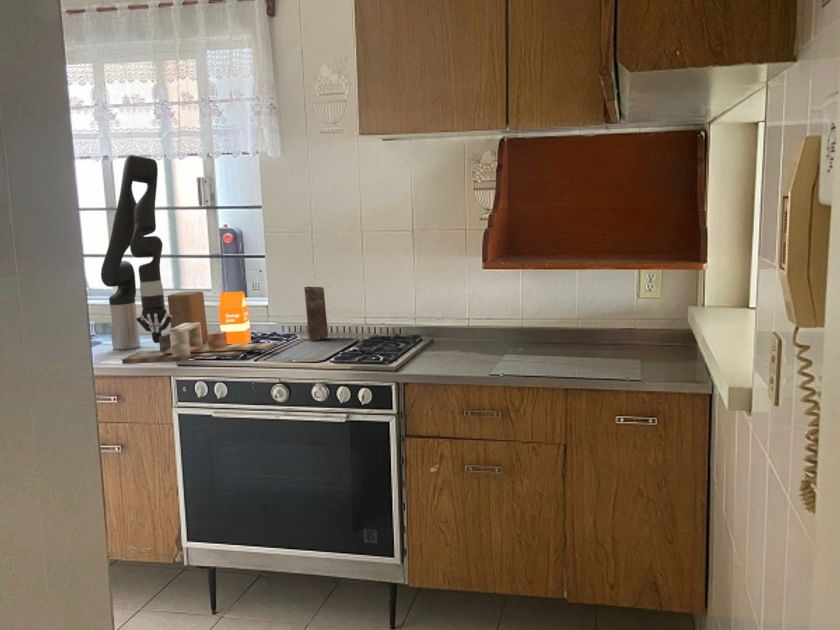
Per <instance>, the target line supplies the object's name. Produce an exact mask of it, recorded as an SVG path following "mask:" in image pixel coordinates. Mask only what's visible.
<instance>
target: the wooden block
mask: <svg viewBox="0 0 840 630" xmlns="http://www.w3.org/2000/svg"><path fill="white" fill-rule="evenodd" d="M167 304H168V314H169V315H172V316H173V318H172V320H171V322H170V323H169V325H170V329H172V328H174V327H177V326H179V325H181V324H183V323H196V322H200V325H201V335H202V344H203V345H204V344H205V343H208V337H207V334H208V327H207V317H206V308H205V307H206V306H205V297H204V293H203V291H201V290H198V291H197V290H194V291H193V290H192V291H187V290H186V291H180V292H175V293H171V294H169V295H167Z"/></svg>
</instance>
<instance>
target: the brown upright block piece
mask: <svg viewBox="0 0 840 630" xmlns="http://www.w3.org/2000/svg"><path fill="white" fill-rule="evenodd" d="M303 288H304V289H303V291H304V298H305V311H306V324H307V325H306V326H307V336H308V340H309V342H315V341H319V340H324V339H327V338H328V336H329V330H328V318H327V310H326V297H325V288H324V287H323V286H304V287H303Z"/></svg>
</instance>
